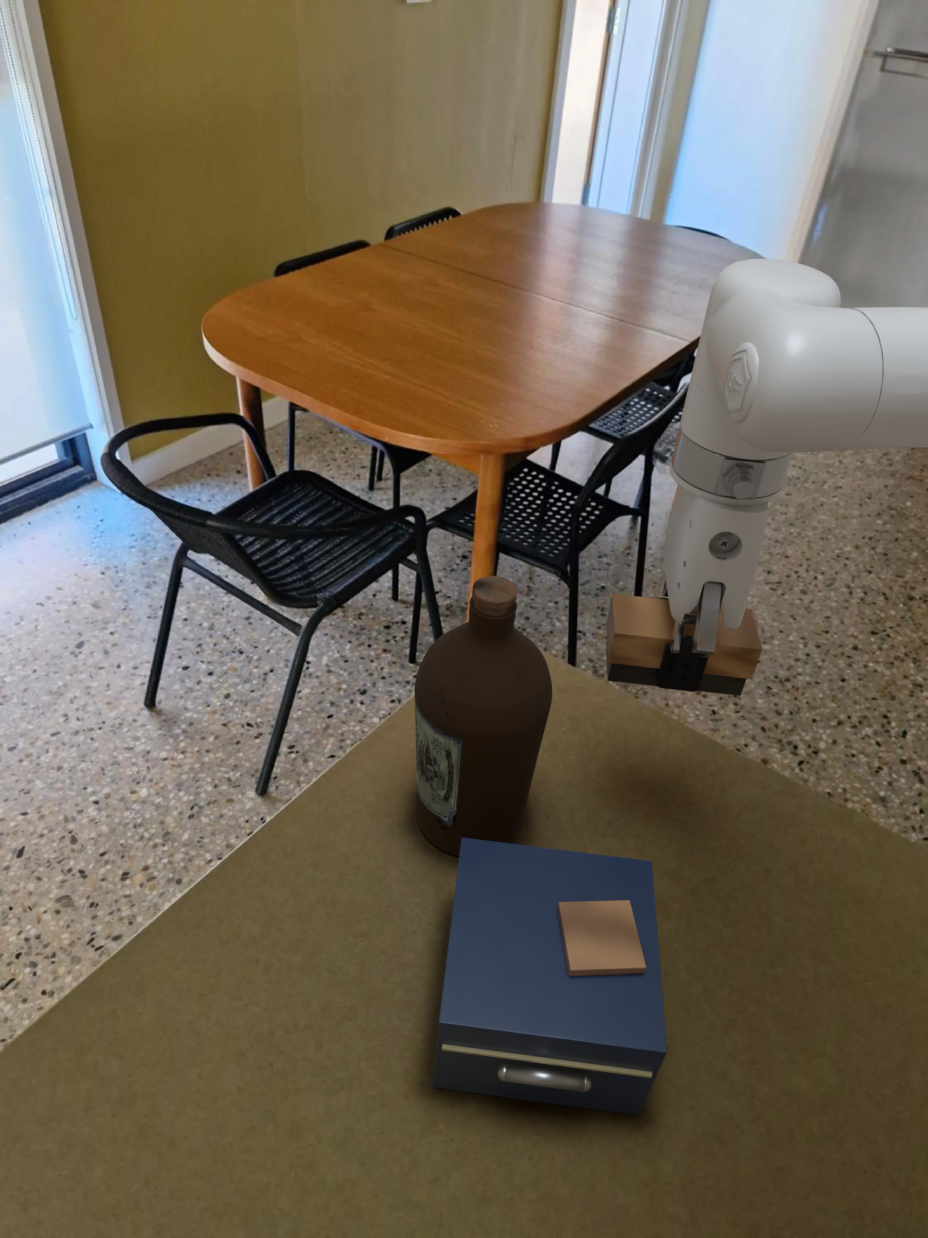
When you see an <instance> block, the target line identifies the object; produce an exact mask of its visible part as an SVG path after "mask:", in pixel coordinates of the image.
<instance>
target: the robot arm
mask: <svg viewBox="0 0 928 1238" xmlns="http://www.w3.org/2000/svg"><path fill="white" fill-rule="evenodd" d="M692 367H693V368H692V371H691V376H690V380H689V384H688V387H687V391H686V397H685V400H684V405H683V409H682V414H681V417H680V422H679V427H678V432H677V436H676V441H675V445H674V448H673V453H672V457H671V460H670V466H669V474H670V476H671V478H672V480H673V481H674V482H675V483H676V484H677V485H678V487H677V490H676V493H675V496H674V501H673V505H672V508H671V512H670V516H669V519H668V520H669V521H668V525H667V529H666V533H665V537H664V538H665V539H664V544H663V567H664V575H665V580H664V583H663V588H662V597H660V596H659V599H665V600H669V605H670V611H671V615H672V617H673V618H674V619H675V624H674V629H673V634H672V640H671V644H666V646H665V649H664V653H663V657H662V661H661V664H660V668H659V672H658V676H657V679H656V682H657V686H656V687H657V688H659V689H664V690H673V691H683V692H689V693H690V692H691V693H694V692H698V691H697V690H698V689H699V686H700V683H701V680H702V677H703V673H704V670H705V667H706V664H707V660H708V658H709V656H710V655H713V654H714V651H715V643H716V634H717V625H718V616H719V610H720V608H721V613H722V618H723V622H724V627H725V628H726V629H731V630H735V629H737V628H738V627H739V626H740V625H741V622H742V619H743V616H744V612H745V609H747V605H748V601H749V597H750V594H751V590H752V586H753V583H754V578H755V575H756V571H757V567H758V564H759V559H760V556H761V550H762V546H763V543H764V542H763V541H764V537H765V532H766V526H767V520H768V514H769V513H768V512H769V503H770V502H773V501H775V500H776V499H777V498H778V497H779V496H780V495H781V493H782V489H783V487H784V483H785V480H786V477H787V474H788V471H789V468H790V466H791V463H792V459H793V456H794V453H814V452H815V453H816V452H817V453H818V452H836V451H837V452H838V451H853V450H855V451H856V450H857V451H858V450H877V449H879V450H880V449H918V448H919V449H920V448H922V449H923V448H928V307H923V306H922V307H921V306H883V307H877V306H876V307H842V296H841V291H840V288H839V286H838V284H837V282H835V280H834V279H833V278H832V277H831V276H829V274H826V273H824V272H823V271H820V270H819V269H817V268H815V267H812V266H809V265H807V264H802V263H799V262H796V261H795V262H794V261H789V260H784V259H775V258H750V259H743V260H739V261H735V262H732V264H729V265H728V266H726V267H724V269H723V270H722V271H721V272H720V273H719V274H718V275H717V277H716V278H715V280H714V283H713V285H712V288H711V291H710V295H709V298H708V302H707V307H706V311H705V315H704V320H703V324H702V327H701V333H700V336H699V341H698V345H697V350H696V354H695V358H694V362H693V365H692ZM694 608H698V610H697V612H691V611H692V610H693V609H694ZM685 624H692V625H696V628H695V633H694V635H693V636H689V635H686V636H684V637H683V633H684V628H685Z"/></svg>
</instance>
